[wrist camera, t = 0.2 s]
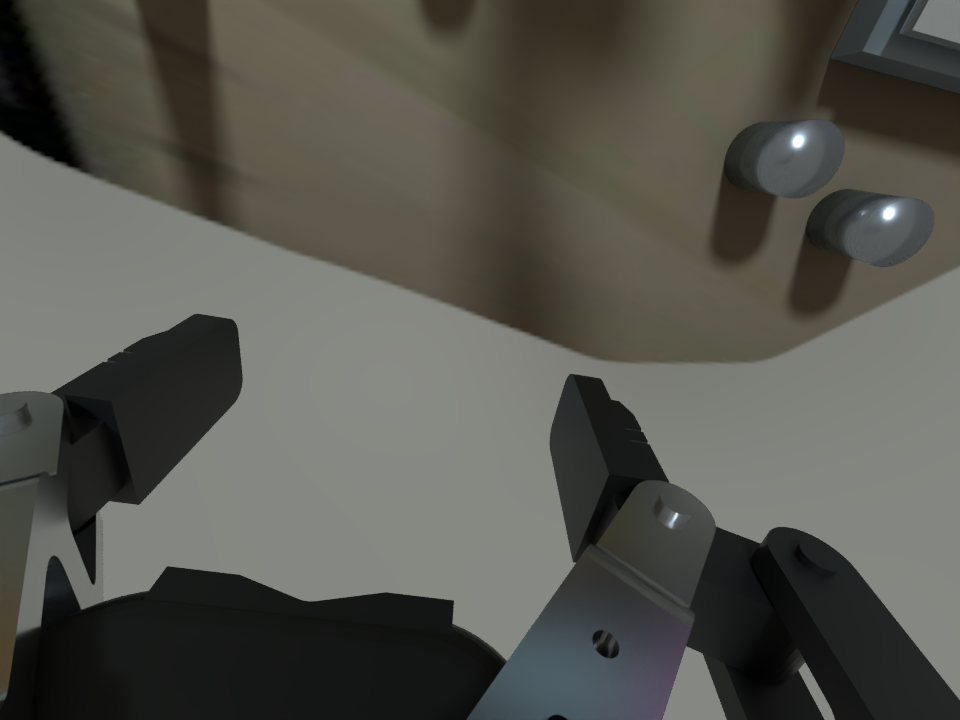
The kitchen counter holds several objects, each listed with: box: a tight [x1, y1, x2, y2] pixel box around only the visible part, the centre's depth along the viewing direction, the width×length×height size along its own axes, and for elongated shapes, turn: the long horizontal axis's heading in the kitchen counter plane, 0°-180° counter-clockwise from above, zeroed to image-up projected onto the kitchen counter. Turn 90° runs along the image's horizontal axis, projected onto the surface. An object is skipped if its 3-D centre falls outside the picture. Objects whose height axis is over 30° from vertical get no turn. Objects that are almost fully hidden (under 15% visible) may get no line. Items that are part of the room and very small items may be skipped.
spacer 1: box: [725, 120, 844, 198], centre depth 32 cm, size 5×5×6 cm
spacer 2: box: [806, 189, 934, 267], centre depth 34 cm, size 5×5×6 cm
